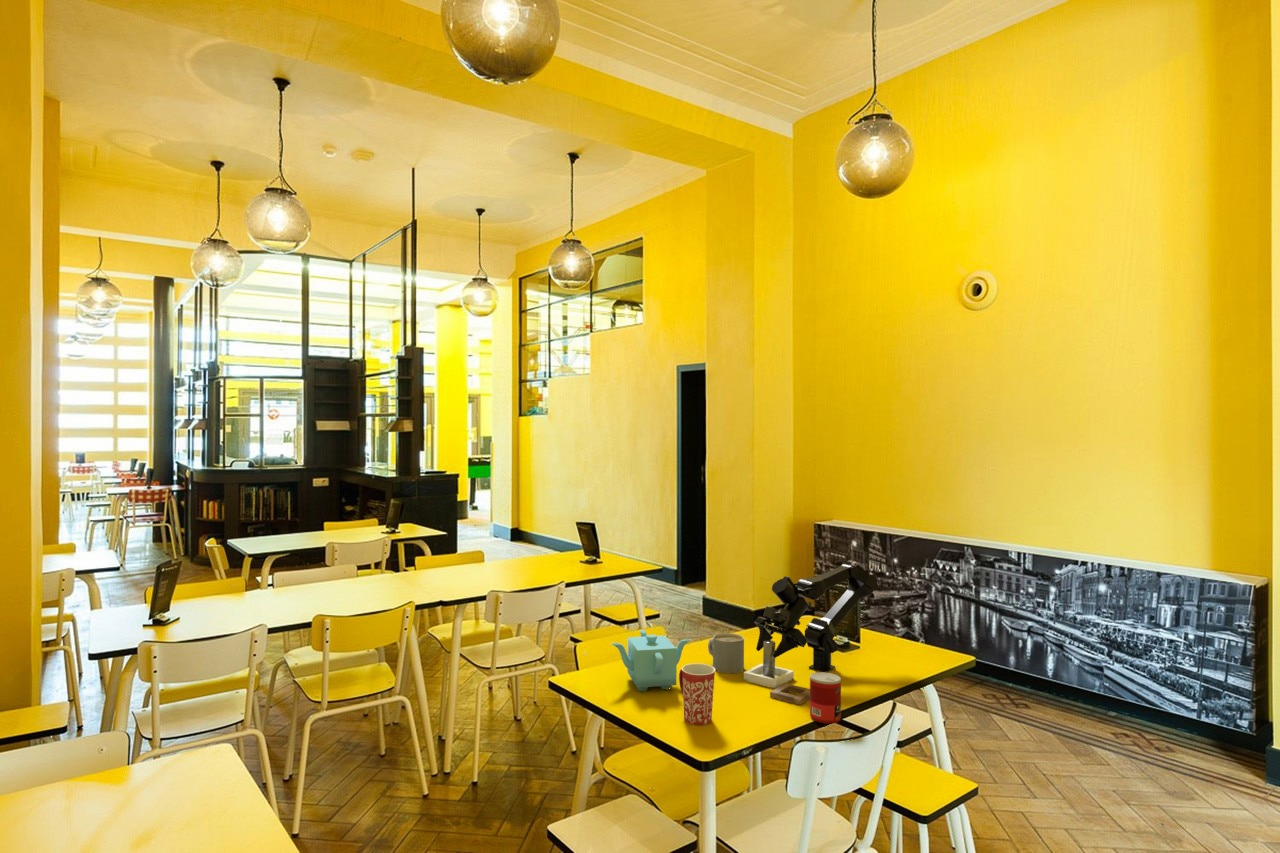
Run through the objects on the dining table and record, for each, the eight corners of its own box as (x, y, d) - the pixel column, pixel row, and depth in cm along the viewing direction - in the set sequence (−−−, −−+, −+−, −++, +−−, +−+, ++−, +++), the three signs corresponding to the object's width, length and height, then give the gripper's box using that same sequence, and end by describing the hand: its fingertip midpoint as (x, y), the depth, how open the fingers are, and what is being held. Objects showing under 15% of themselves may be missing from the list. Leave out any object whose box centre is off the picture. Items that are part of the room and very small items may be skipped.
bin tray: (761, 671, 223) (761, 663, 223) (793, 679, 216) (793, 670, 216) (743, 680, 215) (743, 672, 215) (776, 688, 208) (776, 680, 208)
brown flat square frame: (785, 688, 208) (785, 683, 208) (814, 695, 202) (814, 690, 203) (770, 697, 201) (770, 691, 201) (800, 705, 195) (800, 699, 195)
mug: (722, 723, 182) (722, 671, 183) (692, 729, 178) (693, 676, 178) (696, 706, 193) (696, 657, 194) (667, 712, 189) (668, 662, 190)
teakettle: (662, 700, 198) (662, 648, 198) (607, 687, 208) (608, 637, 208) (693, 681, 214) (693, 633, 214) (641, 669, 224) (641, 623, 224)
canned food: (842, 725, 181) (842, 682, 182) (810, 722, 183) (810, 680, 183) (839, 714, 189) (839, 673, 189) (809, 711, 191) (809, 671, 191)
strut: (770, 675, 218) (771, 639, 218) (777, 679, 215) (777, 643, 215) (760, 676, 216) (761, 640, 217) (767, 680, 213) (767, 644, 213)
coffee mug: (750, 670, 224) (750, 639, 225) (725, 675, 219) (725, 643, 220) (725, 658, 236) (725, 629, 236) (700, 663, 231) (701, 632, 231)
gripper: (758, 591, 226) (731, 630, 220) (800, 603, 210) (772, 645, 204) (777, 612, 230) (751, 651, 224) (818, 626, 214) (792, 668, 208)
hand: (765, 653), depth 215 cm, fingers open, 7 cm apart
